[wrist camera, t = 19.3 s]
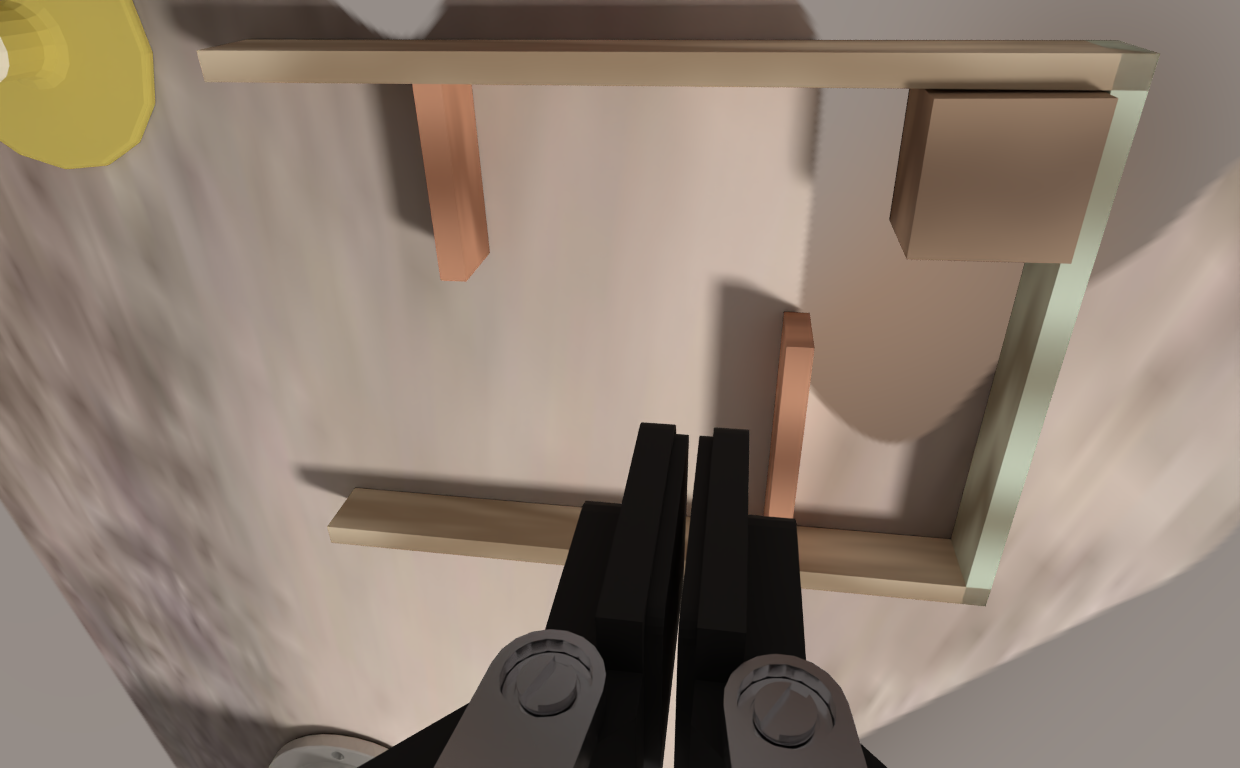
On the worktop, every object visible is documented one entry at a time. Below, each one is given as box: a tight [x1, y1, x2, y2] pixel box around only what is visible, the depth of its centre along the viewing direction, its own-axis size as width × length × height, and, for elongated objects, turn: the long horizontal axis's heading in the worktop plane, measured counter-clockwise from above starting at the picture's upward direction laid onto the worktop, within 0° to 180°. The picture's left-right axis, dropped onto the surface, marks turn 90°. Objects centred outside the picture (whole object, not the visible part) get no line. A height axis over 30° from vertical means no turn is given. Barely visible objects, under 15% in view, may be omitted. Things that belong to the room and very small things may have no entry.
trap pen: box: [197, 39, 1160, 606], centre depth 31 cm, size 22×30×3 cm
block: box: [889, 89, 1118, 264], centre depth 25 cm, size 5×5×4 cm
